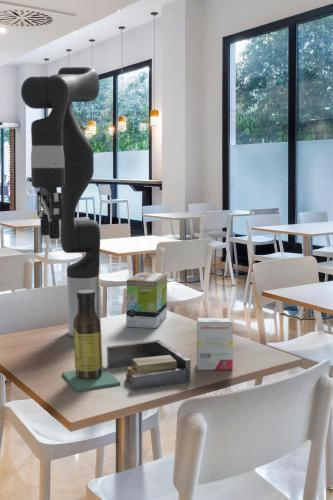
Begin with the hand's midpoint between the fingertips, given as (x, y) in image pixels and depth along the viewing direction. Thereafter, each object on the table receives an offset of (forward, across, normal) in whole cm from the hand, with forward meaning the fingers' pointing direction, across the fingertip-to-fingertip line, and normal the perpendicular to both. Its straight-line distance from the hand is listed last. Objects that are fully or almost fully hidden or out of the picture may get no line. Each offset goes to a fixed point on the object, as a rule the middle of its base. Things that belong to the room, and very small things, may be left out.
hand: (50, 236), depth 139 cm
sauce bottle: (+32, -9, -6) cm, 33 cm away
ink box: (+32, -14, -36) cm, 50 cm away
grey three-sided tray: (+32, -12, -19) cm, 39 cm away
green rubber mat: (+32, -10, -6) cm, 34 cm away
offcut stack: (+32, -16, -19) cm, 41 cm away
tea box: (+32, +33, -38) cm, 60 cm away
